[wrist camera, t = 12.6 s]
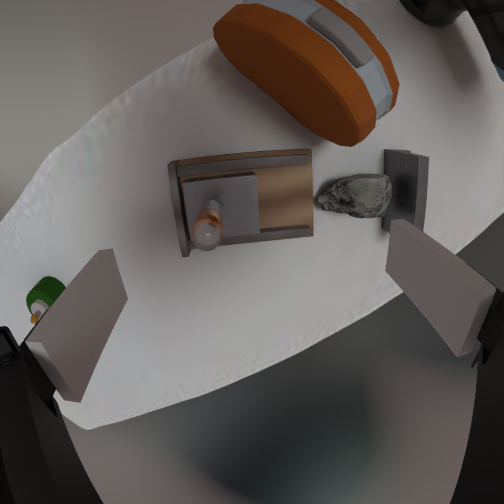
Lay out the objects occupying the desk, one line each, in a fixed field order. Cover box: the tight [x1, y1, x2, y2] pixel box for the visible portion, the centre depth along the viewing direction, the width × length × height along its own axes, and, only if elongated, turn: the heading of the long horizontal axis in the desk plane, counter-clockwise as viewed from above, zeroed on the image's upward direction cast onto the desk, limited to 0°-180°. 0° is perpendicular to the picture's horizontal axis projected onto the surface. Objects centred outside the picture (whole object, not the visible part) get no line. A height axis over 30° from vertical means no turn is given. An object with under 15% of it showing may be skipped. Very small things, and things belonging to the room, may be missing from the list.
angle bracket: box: [381, 149, 429, 233], centre depth 41 cm, size 14×5×10 cm, turn 4°
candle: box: [26, 276, 66, 323], centre depth 44 cm, size 8×8×10 cm
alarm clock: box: [213, 0, 399, 147], centre depth 27 cm, size 22×10×23 cm, turn 49°
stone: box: [318, 174, 392, 218], centre depth 42 cm, size 10×10×10 cm
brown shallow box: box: [168, 149, 313, 257], centre depth 42 cm, size 14×21×4 cm, turn 94°
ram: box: [182, 171, 260, 251], centre depth 36 cm, size 8×10×15 cm
